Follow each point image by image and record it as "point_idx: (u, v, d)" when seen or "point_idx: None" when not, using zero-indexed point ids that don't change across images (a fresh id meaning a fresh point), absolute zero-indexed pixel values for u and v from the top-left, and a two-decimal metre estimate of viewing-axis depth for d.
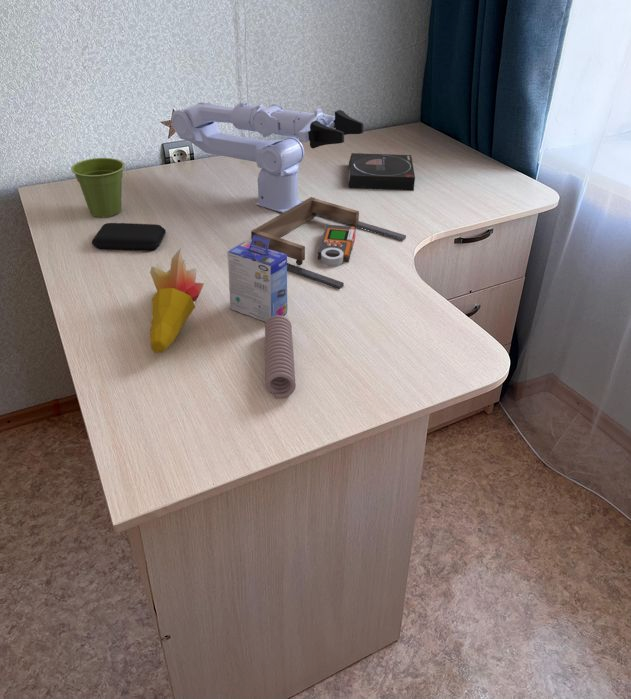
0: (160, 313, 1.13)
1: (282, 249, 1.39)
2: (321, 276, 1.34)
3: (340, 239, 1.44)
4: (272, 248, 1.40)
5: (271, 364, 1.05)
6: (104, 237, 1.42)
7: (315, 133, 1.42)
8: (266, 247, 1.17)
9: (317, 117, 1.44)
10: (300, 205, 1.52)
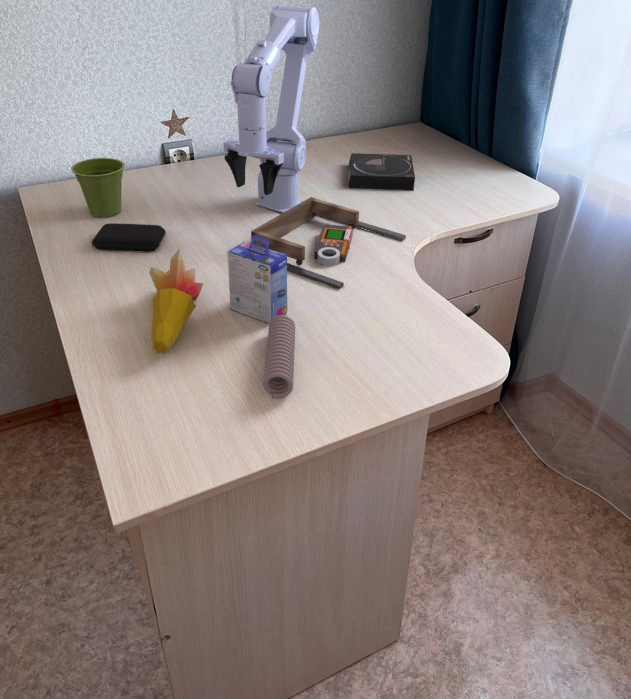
0: (161, 313, 1.13)
1: (282, 249, 1.39)
2: (321, 276, 1.34)
3: (337, 239, 1.44)
4: (272, 248, 1.40)
5: (270, 364, 1.05)
6: (104, 238, 1.42)
7: None
8: (266, 247, 1.17)
9: None
10: (300, 205, 1.52)
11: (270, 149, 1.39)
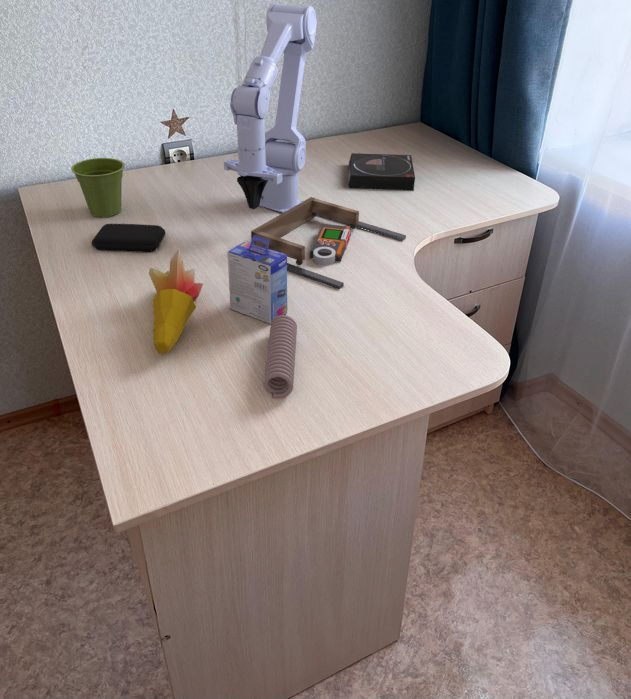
0: (163, 314, 1.13)
1: (282, 249, 1.39)
2: (321, 276, 1.34)
3: (334, 238, 1.44)
4: (272, 248, 1.40)
5: (270, 364, 1.05)
6: (104, 238, 1.42)
7: None
8: (266, 247, 1.17)
9: None
10: (300, 205, 1.52)
11: (269, 168, 1.42)
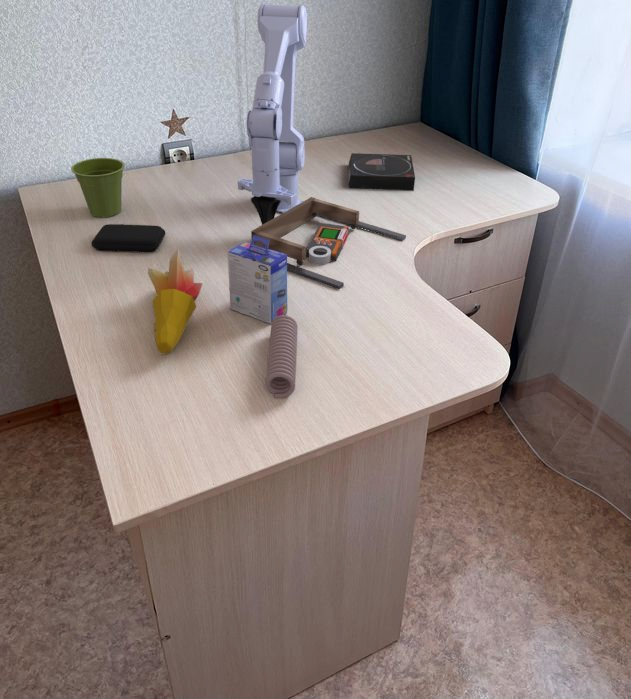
0: (164, 314, 1.13)
1: (282, 249, 1.38)
2: (321, 276, 1.34)
3: (330, 238, 1.45)
4: (272, 248, 1.40)
5: (272, 364, 1.05)
6: (103, 238, 1.42)
7: None
8: (266, 247, 1.17)
9: None
10: (300, 205, 1.52)
11: (283, 189, 1.42)
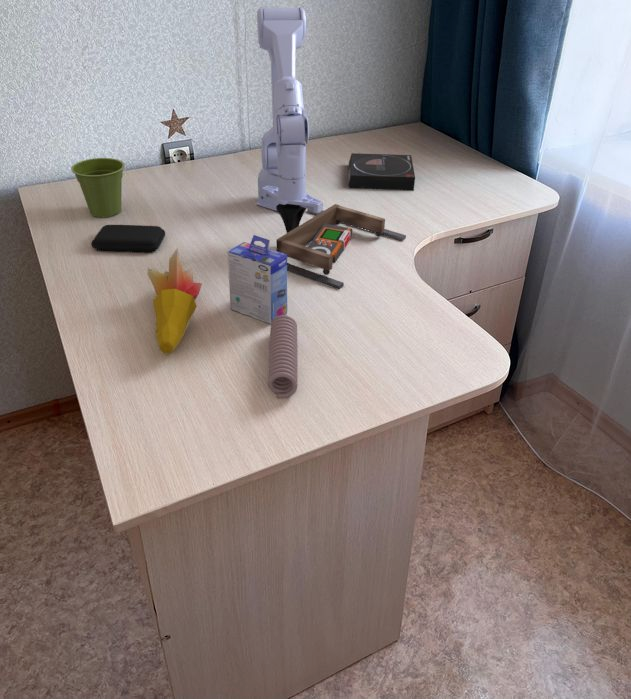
0: (165, 314, 1.13)
1: (308, 258, 1.35)
2: (321, 276, 1.34)
3: (332, 239, 1.44)
4: (298, 257, 1.37)
5: (274, 364, 1.05)
6: (103, 239, 1.42)
7: None
8: (266, 247, 1.17)
9: None
10: (325, 212, 1.49)
11: (309, 196, 1.39)
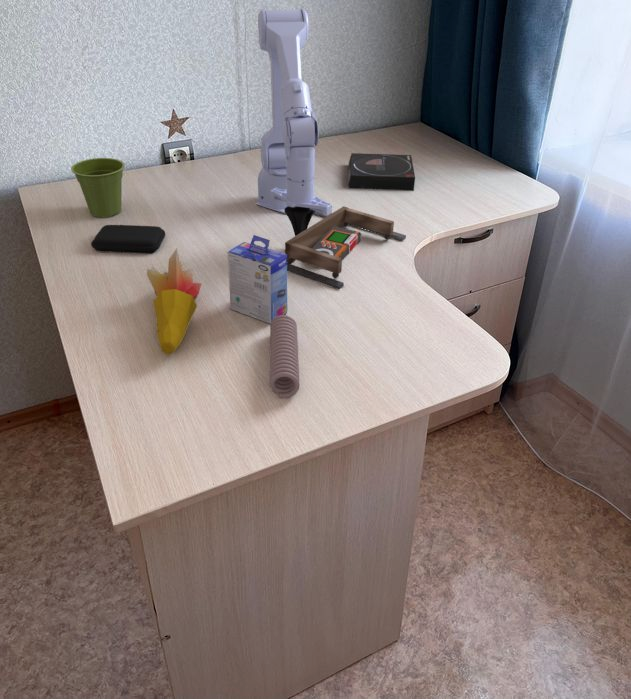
0: (166, 315, 1.13)
1: (318, 261, 1.34)
2: (321, 276, 1.34)
3: (338, 242, 1.43)
4: (307, 260, 1.36)
5: (275, 364, 1.05)
6: (103, 239, 1.42)
7: None
8: (266, 247, 1.17)
9: None
10: (333, 215, 1.48)
11: (318, 199, 1.38)
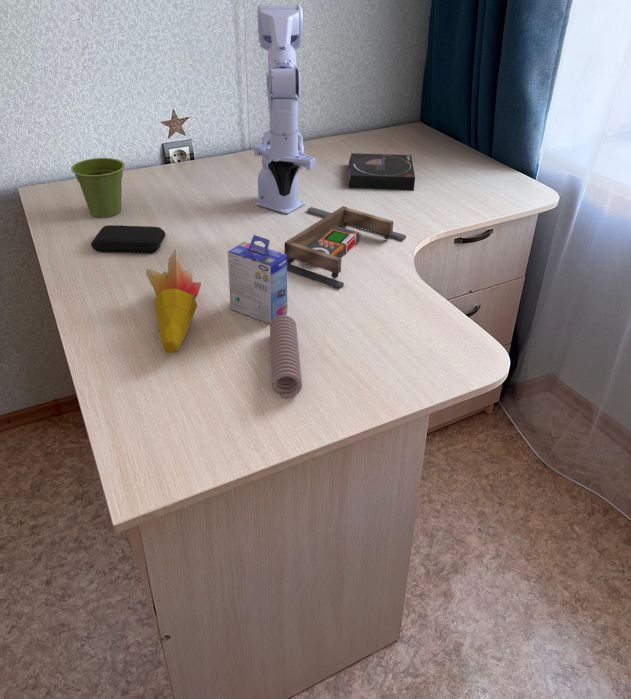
0: (167, 314, 1.13)
1: (317, 261, 1.34)
2: (321, 276, 1.34)
3: (335, 241, 1.43)
4: (306, 260, 1.36)
5: (277, 364, 1.05)
6: (103, 240, 1.41)
7: None
8: (266, 247, 1.17)
9: None
10: (332, 215, 1.48)
11: (301, 154, 1.37)
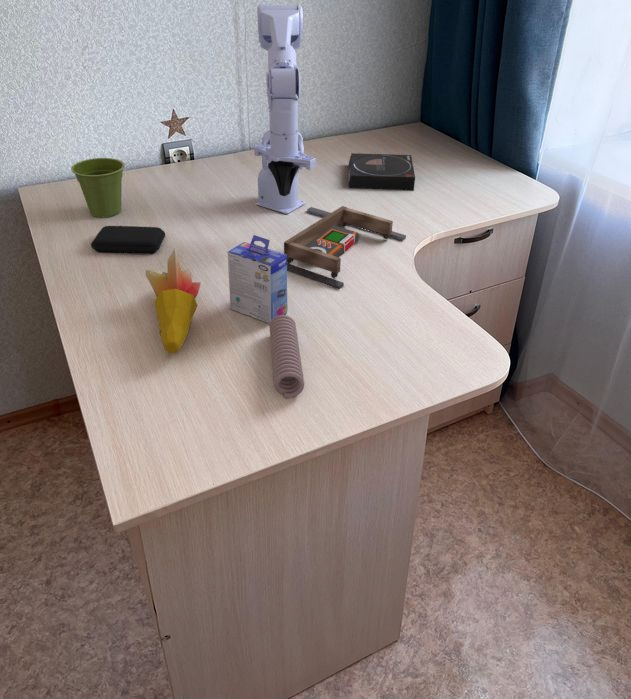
0: (168, 314, 1.13)
1: (316, 261, 1.35)
2: (321, 276, 1.34)
3: (333, 241, 1.44)
4: (306, 260, 1.36)
5: (279, 364, 1.05)
6: (103, 240, 1.41)
7: None
8: (266, 247, 1.17)
9: None
10: (332, 215, 1.48)
11: (301, 154, 1.37)
